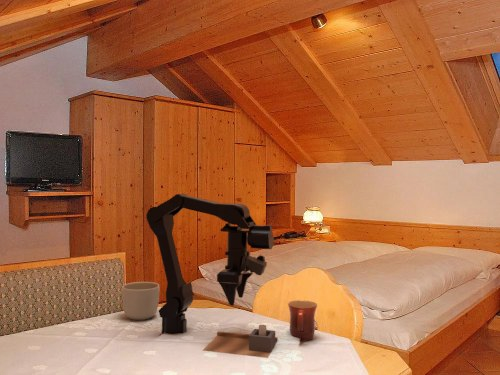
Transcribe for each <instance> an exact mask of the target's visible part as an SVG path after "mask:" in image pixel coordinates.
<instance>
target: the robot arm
mask: <svg viewBox="0 0 500 375" xmlns="http://www.w3.org/2000/svg"><path fill="white" fill-rule="evenodd" d="M183 209H187V210H190V211H195V212H198V213H202V214H206V215H211V216H214V217H216V218H218V219H219V220H222V221H224V222H225V225H224V226H222V228H220V232H224V233H225V232H226V233H227V245H226V246H227V250H225V252H224V253H225V254H224V256H226V257H227V258H226V264H225V265H224V269H222V270H220V271H219V272H218V273H217V274H216V282H217V283H218V285H219V286H220V287H221V288H222V292H223V293H224V295H225V298H226V299H227V302H228V304H229V306H231V307H232V306H234V305H235V301H236V295H237V296H238V298H243V296H244V293H245V291H246V290H245V289H246V285H247V282H248V280H249V278H250V277H251V276H252V275H253V274H255V275H257V276H262V274H264V272H265V269H266V267H267V265H268V262H267V261H266V257H265V256H263V255H261V254H260V255H258V256H257V257H256V256H252V255H251V254H250V253H251V252H250V251H249V249H248V246H249V247H250V248H251V249H256V250H257V249H258V250H272V249H273V247H274V241H275V239H274V238H275V236H274V232H273V228H272V225H271V224H266V225H262V224H260V225H259V224H258V225H257V223H256V222H255V221H254V219H253V217H252V216H251V215H250V209H249V207H248V206H247V205H246V204H244V203H222V202H218V201H212V200H209V199H208V200H207V199H204V198H200V197H195V196H191V195H188V194H186V193H176V194H175V195H174V196H172V197H171V198H169V199H167V200H164V202H162V203H160V204H159V205H157V206H153V207H152V206H151V207H150V208H149V209H148V210H147V212H146V214H145V215H146V216H145V218H146V222H147V224H148V226H149V229H150V230H151V231H152V232H153V234H154V235H155V238H156V240H157V244H158V248H159V252H160V257H161V261H162V264H163V269H164V274H165V278H166V284H167V285H166V290H165V302H166V303H164V305H162V306H161V307H160V308H159V309H158V314H159V317H160V318H161V333H160V334H159V336H161V335H163V334H168V335H176V334H185V333H186V332H187V323H188V321H187V318H186V312H187V311H188V308H189V307H190V306H191V305H192V303H193V301H194V296H195V293H194V291H193V288H192V286H193V285H192V282H188V283H187V282H186V281H185V280H184V277H183V273H182V270H181V265H180V261H179V257H178V253H177V248H176V243H175V241H174V240H175V239H174V235H173V230H174V225H175V223H174V221H175V220H174V217H175V216H177V214H179V213H180V212H181V211H182V210H183Z"/></svg>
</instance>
